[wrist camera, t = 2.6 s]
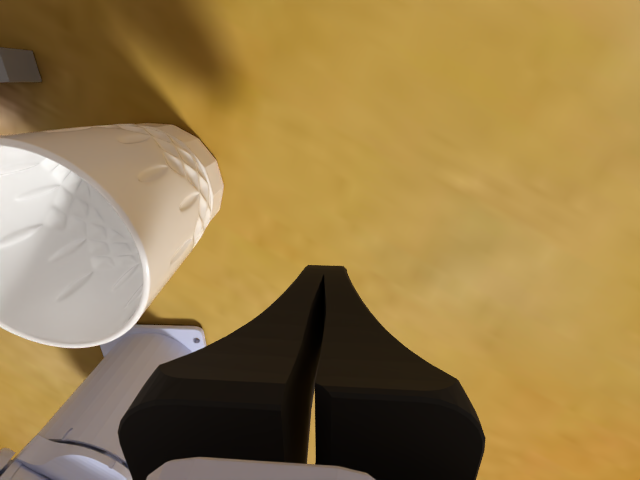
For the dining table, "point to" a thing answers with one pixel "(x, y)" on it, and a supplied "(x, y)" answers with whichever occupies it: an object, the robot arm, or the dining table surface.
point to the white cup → (97, 226)
